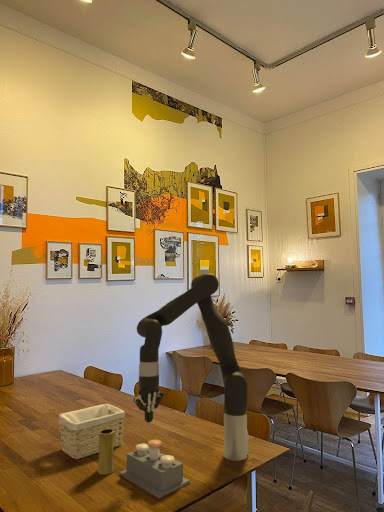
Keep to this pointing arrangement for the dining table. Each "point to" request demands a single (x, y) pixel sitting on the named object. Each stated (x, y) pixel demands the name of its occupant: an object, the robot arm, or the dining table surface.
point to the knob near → (167, 461)
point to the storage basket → (89, 429)
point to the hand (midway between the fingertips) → (148, 421)
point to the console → (154, 474)
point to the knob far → (142, 449)
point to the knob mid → (154, 450)
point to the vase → (106, 452)
